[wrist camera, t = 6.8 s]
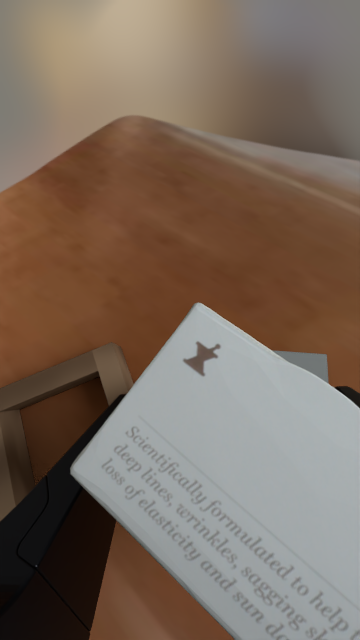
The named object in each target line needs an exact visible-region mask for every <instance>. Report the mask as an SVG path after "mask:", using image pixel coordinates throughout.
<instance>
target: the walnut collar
mask: <svg viewBox="0 0 360 640" xmlns="http://www.w3.org/2000/svg"><path fill="white" fill-rule="evenodd" d="M99 376H100V378H101V382H102V385H103V388H104V391H105V395H106V398H107V401H108V404H109V406H110V404H111V403H112V402H113V401H114V400H115V399H116V398H117V397H118V396H119V395H120V394H127V393H128V392H129V390H130V389H131V388H132V386H133V385H134V384H133V381H132V378H131V375H130V372H129V369H128V366H127V363H126V361H125V358H124V355H123V352H122V349H121V347H120V346H118V345H116V344H114V343H112V342H111V343H109V344H106V345H104V346H102V347H99V348H97V349H94V350H92V351H90V352H87V353H85V354H82V355H80V356H77V357H75V358H73V359H70V360H68V361H65V362H63V363H60V364H58V365H56V366H53V367H51V368H48V369H46V370H43V371H41V372H39V373H36V374H34V375H31V376H29V377H26V378H24V379H22V380H19V381H17V382H14V383H12V384H9V385H7V386H5V387H2V388H0V521H1V520H2V519H3V518H4V517H5V516H6V515H7V514H8V513H9V512H10V511H11V510H12V509H13V508H15V507H16V506H17V505H18V504H19V503H20V502H21V501H22V499H23V498H24V497H25V496H26V495H27V494H28V493H29V492H30V491H31V490H32V489H33V488H34V487H35V482H34V477H33V472H32V467H31V463H30V458H29V453H28V448H27V443H26V439H25V434H24V429H23V424H22V420H21V415H20V409H22V408H25V407H27V406H30V405H32V404H34V403H37V402H39V401H42V400H44V399H47V398H49V397H51V396H54V395H56V394H59V393H61V392H63V391H66V390H68V389H71V388H73V387H75V386H78V385H80V384H83V383H85V382H87V381H90V380H92V379H95V378H97V377H99Z"/></svg>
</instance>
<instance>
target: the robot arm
mask: <svg viewBox="0 0 360 640" xmlns="http://www.w3.org/2000/svg"><path fill="white" fill-rule="evenodd" d="M335 389H336V390H338V391H339V392H341V393H342V394H343V395H345V396H346V397H347V398H348V399H350V400H351V401H352V402H353V403H354V404H355V405H356V406H358V407H359V408H360V393H358V392H356V391H355V390H353V389H352V388H350V387H348V386H337V387H335ZM125 396H126V394H120V395H119V396H118V397H117V398H116V399H115V400H114V401H113V402H112V403H111V404H110V406H109V407H108V408H107V409H106V410H105V411H104V412H103V413H102V414H101V415H100V416H99V418H98V419H97V420H96V421H95V422H94V423H93V424H92V425H91V426H90V427H89V428H88V429H87V431H86V432H85V433H84V434H83V435H82V436H81V437H80V438H79V439H78V440H77V441H76V443H75V444H74V445H73V446H72V447H71V448H70V449H69V450H68V451H67V452H66V453H65V454H64V456H63V457H62V458H61V459H60V460H59V461H58V462H57V463H56V464H55V465H54V466H53V468H52V469H51V470H50V471H49V472H48V473H47V476H44V477H43V478H42V479H41V480H40V482H39V483H38V484H37V485H36V486H35V487H34V488H33V489H32V490H31V491H30V492H29V493H28V494H27V495H26V496H25V497H24V498H23V499H22V501H21V502H20V503H19V504H18V505H17V506H16V507H15V508H13V509H12V510H11V511H10V512H9V513H8V514H7V515H6V516H5V517H4V518H3V519H2V520H1V521H0V640H89V636H90V631H91V627H92V623H93V619H94V614H95V610H96V606H97V601H98V597H99V593H100V588H101V584H102V580H103V575H104V571H105V567H106V563H107V558H108V554H109V550H110V545H111V541H112V537H113V532H114V528H115V524H116V519H115V518H114V517H113V516H112V515H111V514H110V513H109V512H108V511H107V510H106V509H105V508H104V507H103V506H102V505H101V504H99V503H98V502H97V501H96V500H95V499H94V498H93V497H92V496H91V495H90V494H89V493H88V492H87V491H86V490H85V489H84V488H83V487H82V486H81V485H80V484H79V483H78V482H77V480H76V479H75V478H74V477H73V476H72V475H71V472H70V468H71V466H72V464H73V462H74V461H75V459H76V458H77V457H78V455H79V454H80V453H81V452H82V450H83V449H84V448H85V447H86V446H87V444H88V443H89V442H90V441H91V440H92V438H93V437H94V436H95V434H96V433H97V432H98V431H99V429H100V428H101V427H102V425H103V424H104V423H105V421H106V420H107V419H108V418H109V416H110V415H111V414H112V412H113V411H114V410H115V409H116V407H117V406H118V405H119V403H120V402H121V401H122V399H123V398H124V397H125Z"/></svg>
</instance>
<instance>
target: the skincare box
mask: <svg viewBox="0 0 360 640" xmlns="http://www.w3.org/2000/svg"><path fill="white" fill-rule="evenodd" d="M70 472H71V475H72V476H73V477H74V478H75V479H76V480H77V482H78V483H79V484H80V485H81V486H82V487H83V488H84V489H85V490H86V491H87V492H88V493H89V494H90V495H91V496H92V497H93V498H94V499H95V500H96V501H97V502H98V503H99V504H101V505H102V506H103V507H104V508H105V509H106V510H107V511H108V512H109V513H110V514H111V515H112V516H113V517H114V518H115V519H116V520H117V521H118V522H119V523H120V524H121V525H122V526H123V527H124V528H125V529H126V530H127V531H128V532H129V533H130V534H131V535H132V536H133V537H134V538H135V539H136V541H137V542H138V543H139V544H140V545H141V546H142V547H143V548H144V549H145V550H146V551H147V552H148V553H149V554H150V555H151V556H152V557H153V558H154V559H155V560H156V561H157V562H158V563H159V564H160V565H161V566H162V567H163V568H164V569H165V570H166V571H167V572H168V573H169V574H170V575H171V576H172V577H173V578H174V579H175V580H176V581H177V582H178V583H179V584H180V585H181V586H182V587H183V588H184V589H185V590H186V591H187V592H188V593H189V594H190V595H191V596H192V597H193V598H194V599H195V600H196V601H197V602H198V603H199V604H200V605H201V606H202V607H203V608H204V609H205V610H206V611H207V612H208V613H209V614H210V615H211V616H212V617H213V618H214V619H215V620H216V621H217V622H218V623H219V624H220V625H221V626H222V627H223V628H224V629H225V630H226V631H227V632H228V633H229V634H230V635H231V636H232V637H233V638H234V639H235V640H360V408H359V407H358V406H356V405H355V404H354V403H353V402H352V401H351V400H350V399H348V398H347V397H346V396H345V395H343V394H342V393H341V392H339V391H338V390H336V389H335V388H333V387H332V386H330V385H329V384H328V383H326V382H325V381H324V380H322V379H320V378H319V377H317V376H316V375H314V374H312V373H310V372H308V371H307V370H305V369H303V368H301V367H299V366H296V365H294V364H292V363H289V362H288V361H286V360H285V359H283V358H282V357H280V356H279V355H277V354H276V353H274V352H273V351H271V350H270V349H268V348H267V347H265V346H264V345H262V344H261V343H260V342H258V341H257V340H255V339H254V338H252V337H251V336H249V335H248V334H247V333H245V332H244V331H242V330H241V329H239V328H238V327H236V326H235V325H233V324H232V323H230V322H228V321H227V320H225V319H224V318H222V317H221V316H220V315H218V314H217V313H215V312H214V311H212V310H211V309H209V308H208V307H206V306H205V305H203V304H201V303H195V304H194V305H193V306H192V308H191V309H190V311H189V312H188V314H187V315H186V317H185V318H184V320H183V321H182V322H181V324H180V325H179V327H178V328H177V329H176V331H175V332H174V333H173V335H172V336H171V337H170V338H169V340H168V341H167V342H166V343H165V345H164V346H163V347H162V349H161V350H160V351H159V353H158V354H157V355H156V357H155V358H154V359H153V361H152V362H151V363H150V364H149V366H148V367H147V368H146V370H145V371H144V372H143V373H142V375H141V376H140V377H139V379H138V380H137V381H136V383H135V384H134V385H133V386H132V388H131V389H130V390H129V392H128V393H127V394H126V396H125V397H124V398H123V399H122V401H121V402H120V403H119V405H118V406H117V407H116V409H115V410H114V411H113V412H112V414H111V415H110V416H109V418H108V419H107V420H106V421H105V423H104V424H103V425H102V427H101V428H100V429H99V431H98V432H97V433H96V434H95V436H94V437H93V438H92V440H91V441H90V442H89V443H88V444H87V446H86V447H85V448H84V449H83V450H82V452H81V453H80V454H79V455H78V457H77V458H76V459H75V461H74V462H73V464H72V466H71V468H70Z"/></svg>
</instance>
